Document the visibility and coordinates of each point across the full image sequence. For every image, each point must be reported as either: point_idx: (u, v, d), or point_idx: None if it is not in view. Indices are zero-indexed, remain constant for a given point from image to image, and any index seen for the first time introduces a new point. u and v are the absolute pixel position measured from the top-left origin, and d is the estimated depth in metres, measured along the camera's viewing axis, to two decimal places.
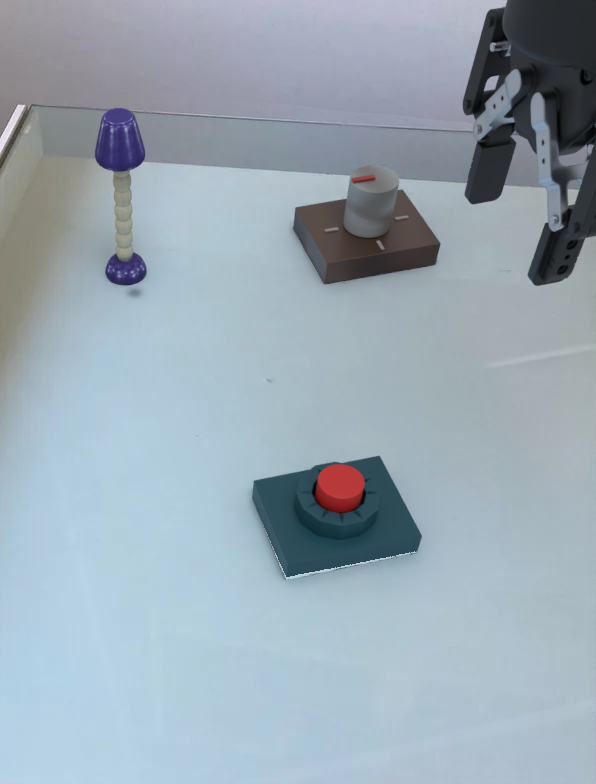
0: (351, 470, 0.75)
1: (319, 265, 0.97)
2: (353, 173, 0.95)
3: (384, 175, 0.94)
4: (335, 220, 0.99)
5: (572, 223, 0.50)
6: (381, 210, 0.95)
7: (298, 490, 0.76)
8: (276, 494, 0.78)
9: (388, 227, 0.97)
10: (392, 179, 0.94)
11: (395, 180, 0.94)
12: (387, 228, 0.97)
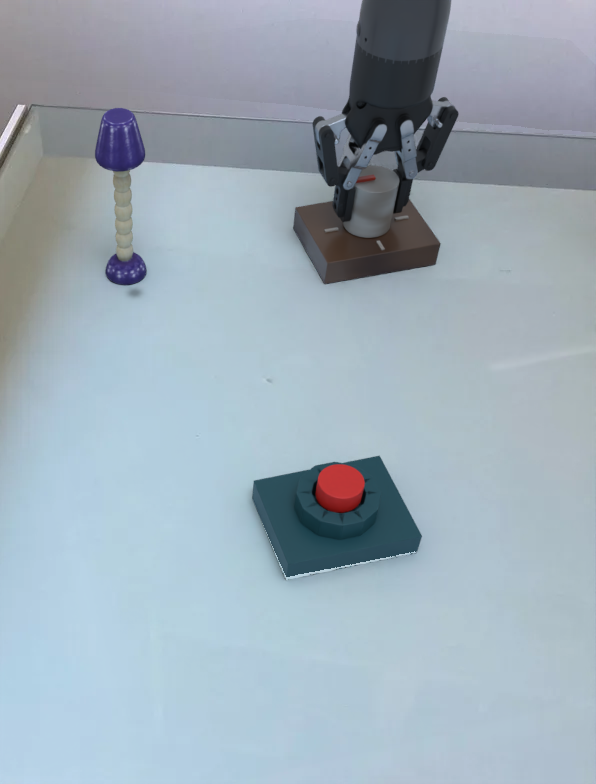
0: (351, 470, 0.75)
1: (319, 265, 0.97)
2: None
3: (384, 175, 0.94)
4: (335, 220, 0.99)
5: None
6: (381, 210, 0.95)
7: (298, 490, 0.76)
8: (276, 494, 0.78)
9: (388, 227, 0.97)
10: (392, 179, 0.94)
11: (395, 180, 0.94)
12: (387, 228, 0.97)
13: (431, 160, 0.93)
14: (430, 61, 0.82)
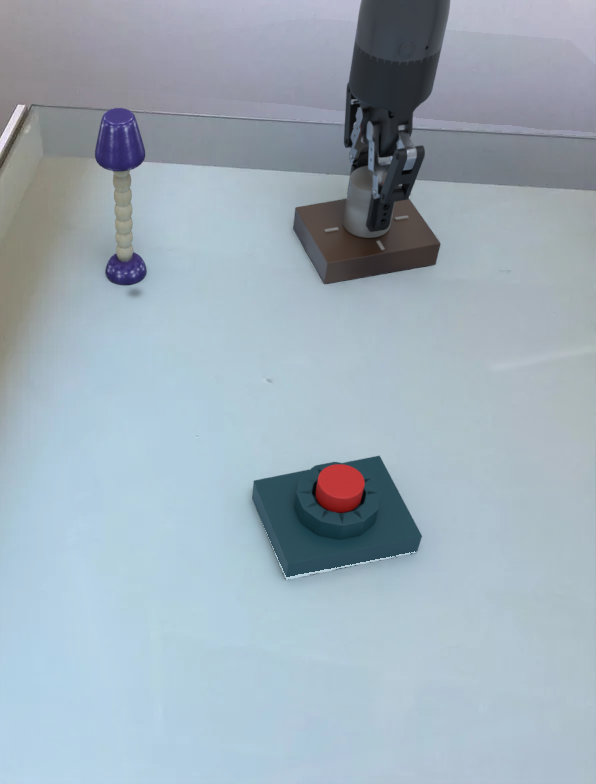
0: (351, 470, 0.75)
1: (319, 265, 0.97)
2: (368, 190, 0.93)
3: (367, 173, 0.95)
4: (335, 220, 0.99)
5: (381, 194, 0.90)
6: None
7: (298, 490, 0.76)
8: (276, 494, 0.78)
9: None
10: None
11: None
12: None
13: None
14: None
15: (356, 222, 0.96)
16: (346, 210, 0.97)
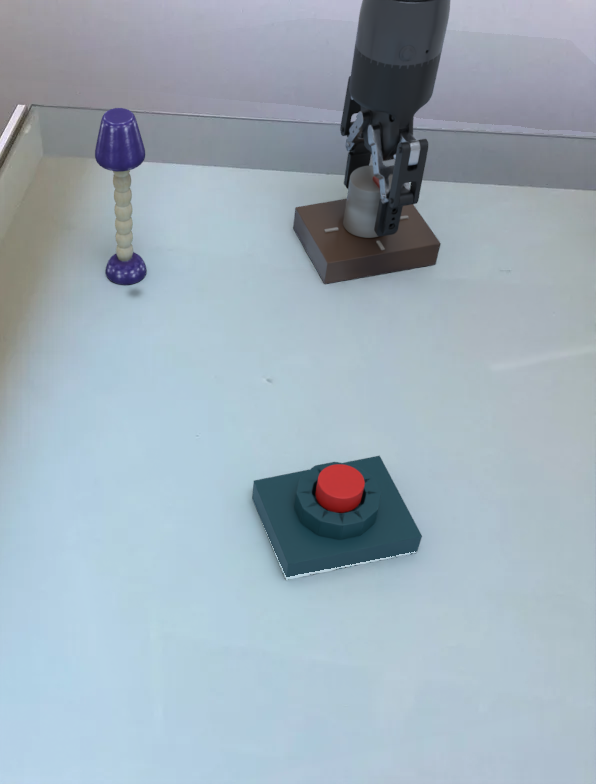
0: (351, 470, 0.75)
1: (319, 265, 0.97)
2: (368, 190, 0.93)
3: (367, 173, 0.95)
4: (335, 220, 0.99)
5: (390, 198, 0.89)
6: None
7: (298, 490, 0.76)
8: (276, 494, 0.78)
9: None
10: None
11: None
12: None
13: None
14: None
15: (356, 222, 0.96)
16: (346, 210, 0.97)
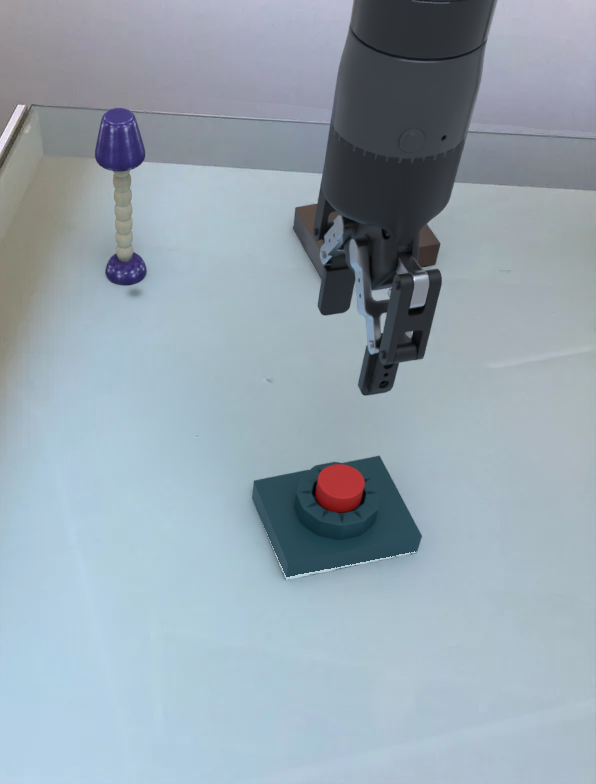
0: (351, 470, 0.75)
1: (319, 265, 0.97)
2: None
3: None
4: None
5: (381, 351, 0.58)
6: None
7: (298, 490, 0.76)
8: (276, 494, 0.78)
9: None
10: None
11: None
12: None
13: None
14: None
15: None
16: None
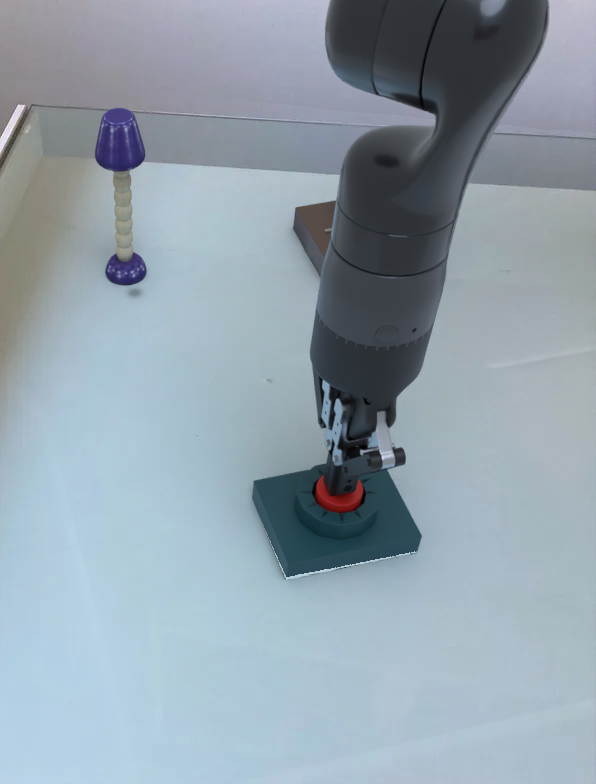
0: None
1: (319, 265, 0.97)
2: None
3: None
4: None
5: (344, 467, 0.69)
6: None
7: (298, 490, 0.76)
8: (276, 494, 0.78)
9: None
10: None
11: None
12: None
13: None
14: None
15: None
16: None
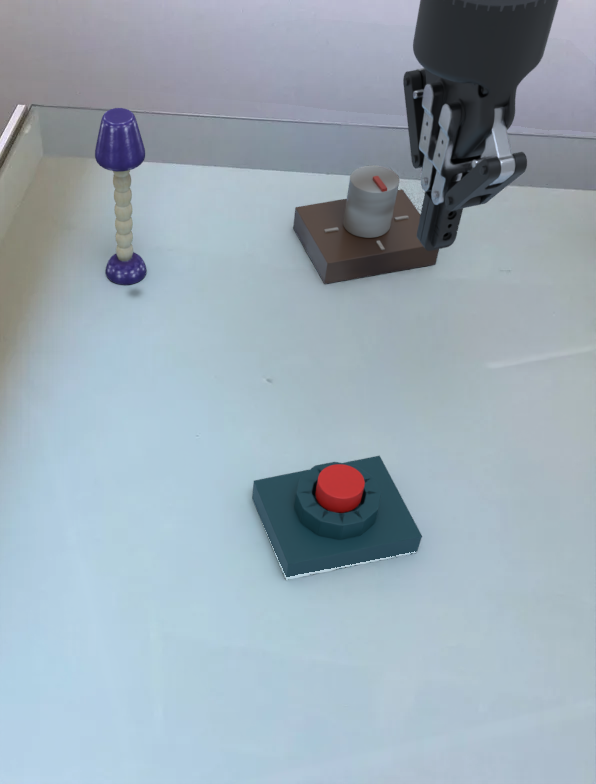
0: (351, 470, 0.75)
1: (319, 265, 0.97)
2: (368, 190, 0.93)
3: (367, 173, 0.95)
4: (335, 220, 0.99)
5: (448, 197, 0.61)
6: None
7: (298, 490, 0.76)
8: (276, 494, 0.78)
9: None
10: (374, 168, 0.95)
11: (375, 167, 0.95)
12: None
13: None
14: None
15: (356, 222, 0.96)
16: (346, 210, 0.97)
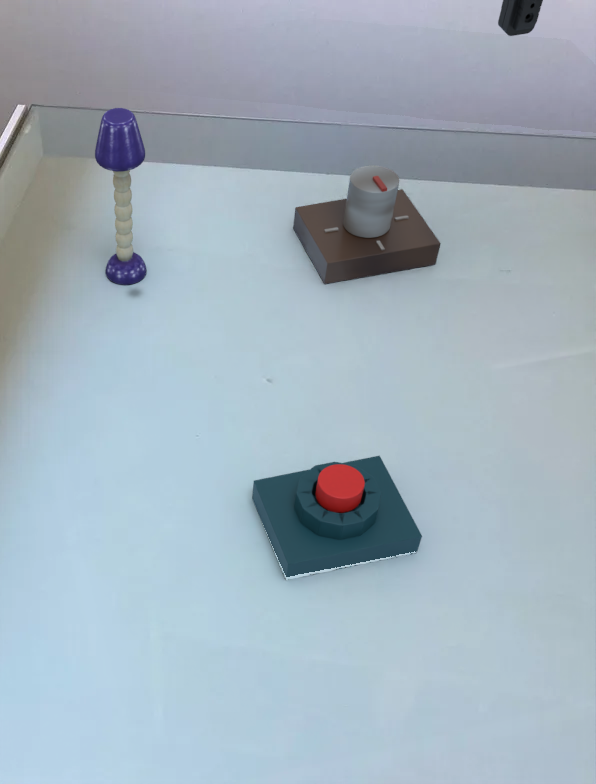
0: (351, 470, 0.75)
1: (319, 265, 0.97)
2: (368, 190, 0.93)
3: (367, 173, 0.95)
4: (335, 220, 0.99)
5: None
6: None
7: (298, 490, 0.76)
8: (276, 494, 0.78)
9: None
10: (374, 168, 0.95)
11: (375, 167, 0.95)
12: None
13: None
14: None
15: (356, 222, 0.96)
16: (346, 210, 0.97)
